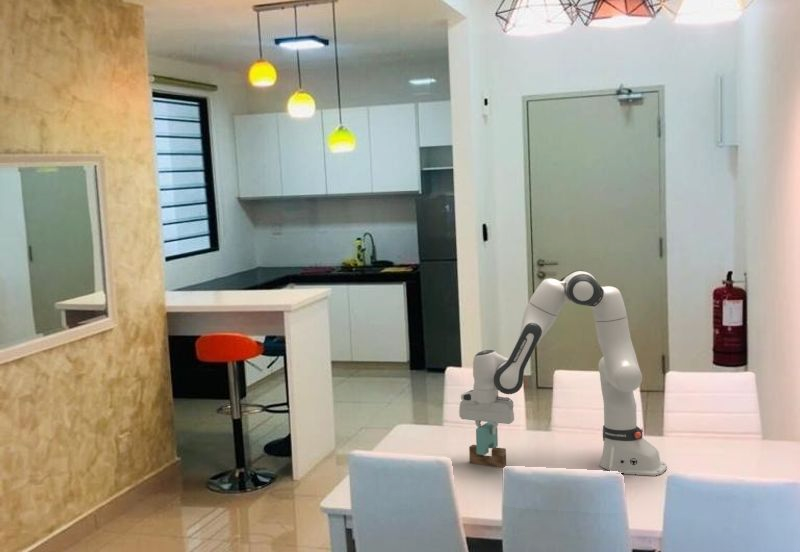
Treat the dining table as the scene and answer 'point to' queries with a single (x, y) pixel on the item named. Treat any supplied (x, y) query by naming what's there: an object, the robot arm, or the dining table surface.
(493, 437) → the cross plate
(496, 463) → the stand plate
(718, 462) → the dining table surface
